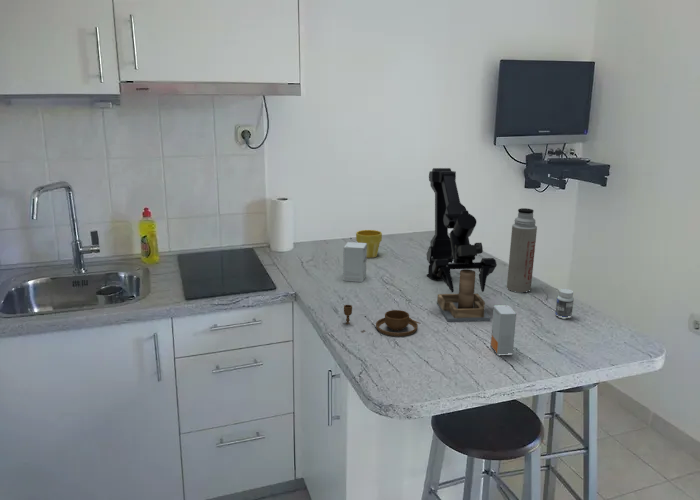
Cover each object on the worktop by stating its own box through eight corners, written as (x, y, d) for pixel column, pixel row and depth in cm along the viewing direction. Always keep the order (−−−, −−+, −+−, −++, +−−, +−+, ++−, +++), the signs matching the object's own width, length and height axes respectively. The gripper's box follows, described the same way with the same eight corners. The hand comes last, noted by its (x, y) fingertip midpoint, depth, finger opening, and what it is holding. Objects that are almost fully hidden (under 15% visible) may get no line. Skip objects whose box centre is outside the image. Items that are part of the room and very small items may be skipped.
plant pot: (357, 251, 243) (357, 228, 240) (382, 252, 242) (382, 229, 239) (354, 258, 233) (354, 235, 231) (380, 260, 232) (380, 236, 229)
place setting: (393, 346, 158) (394, 325, 156) (339, 325, 171) (339, 306, 169) (430, 327, 170) (431, 308, 168) (378, 309, 183) (378, 291, 181)
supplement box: (363, 282, 206) (363, 248, 202) (342, 281, 207) (342, 246, 204) (366, 276, 213) (367, 242, 209) (346, 274, 214) (347, 241, 211)
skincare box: (489, 346, 157) (493, 305, 153) (505, 346, 157) (508, 304, 154) (497, 356, 151) (500, 313, 147) (513, 356, 151) (517, 313, 148)
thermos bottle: (535, 290, 199) (544, 210, 191) (518, 294, 195) (525, 212, 188) (519, 283, 206) (526, 206, 198) (501, 287, 202) (508, 208, 194)
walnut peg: (459, 308, 180) (462, 268, 176) (474, 311, 178) (477, 270, 174) (455, 313, 176) (458, 272, 172) (470, 316, 174) (473, 275, 171)
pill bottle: (551, 315, 178) (554, 289, 176) (564, 313, 180) (567, 287, 178) (562, 320, 174) (565, 294, 172) (574, 318, 176) (578, 292, 173)
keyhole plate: (436, 304, 186) (437, 293, 185) (476, 303, 187) (477, 292, 186) (447, 321, 172) (448, 310, 171) (490, 320, 173) (491, 309, 172)
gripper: (436, 233, 173) (442, 280, 166) (497, 232, 175) (506, 279, 167) (429, 251, 183) (435, 296, 176) (487, 250, 185) (495, 295, 177)
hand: (468, 291), depth 174 cm, fingers open, 9 cm apart
